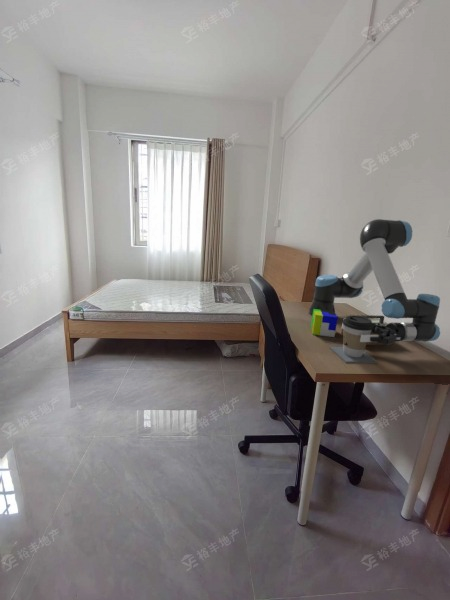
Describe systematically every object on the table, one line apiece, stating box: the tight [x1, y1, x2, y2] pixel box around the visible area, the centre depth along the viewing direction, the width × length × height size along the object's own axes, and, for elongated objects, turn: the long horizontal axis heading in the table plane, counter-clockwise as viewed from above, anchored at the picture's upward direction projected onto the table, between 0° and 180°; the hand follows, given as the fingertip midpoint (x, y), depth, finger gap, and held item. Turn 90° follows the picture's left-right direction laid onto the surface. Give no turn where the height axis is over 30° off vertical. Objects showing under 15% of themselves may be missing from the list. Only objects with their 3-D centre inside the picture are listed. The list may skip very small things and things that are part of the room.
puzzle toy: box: [310, 309, 339, 338], centre depth 135 cm, size 10×10×10 cm
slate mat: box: [329, 346, 378, 364], centre depth 112 cm, size 13×13×1 cm
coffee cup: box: [342, 314, 374, 358], centre depth 110 cm, size 11×11×15 cm
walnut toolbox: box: [340, 314, 394, 346], centre depth 129 cm, size 13×19×12 cm
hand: (351, 331), depth 110 cm, fingers open, 13 cm apart
